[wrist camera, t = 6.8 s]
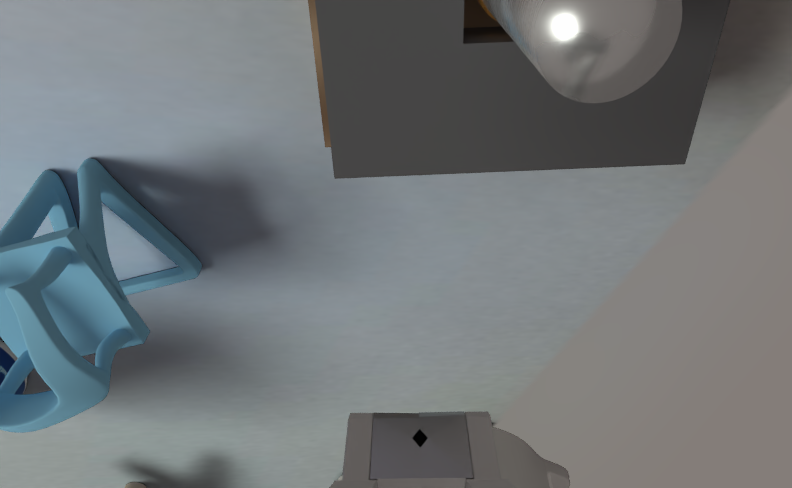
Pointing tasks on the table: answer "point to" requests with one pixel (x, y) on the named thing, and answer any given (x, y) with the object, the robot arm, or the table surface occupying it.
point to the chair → (72, 295)
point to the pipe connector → (135, 485)
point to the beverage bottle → (9, 366)
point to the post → (592, 41)
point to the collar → (491, 96)
